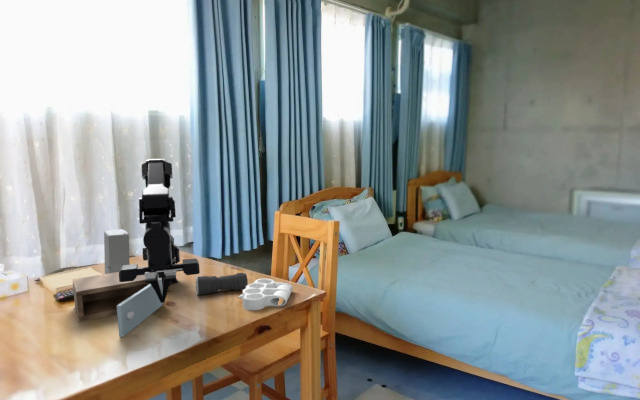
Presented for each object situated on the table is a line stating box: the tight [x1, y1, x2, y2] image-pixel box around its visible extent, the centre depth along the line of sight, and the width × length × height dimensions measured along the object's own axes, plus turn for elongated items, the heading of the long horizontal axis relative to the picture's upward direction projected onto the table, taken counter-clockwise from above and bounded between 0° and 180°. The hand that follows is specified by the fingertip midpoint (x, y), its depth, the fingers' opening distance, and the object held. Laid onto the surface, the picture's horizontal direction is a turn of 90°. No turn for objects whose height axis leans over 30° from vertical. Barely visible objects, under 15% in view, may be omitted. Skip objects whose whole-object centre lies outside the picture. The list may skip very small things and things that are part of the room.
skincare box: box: [103, 228, 130, 274], centre depth 147 cm, size 8×7×16 cm
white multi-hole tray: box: [237, 278, 294, 311], centre depth 127 cm, size 3×18×15 cm
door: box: [116, 278, 164, 338], centre depth 112 cm, size 20×2×8 cm, turn 173°
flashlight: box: [195, 272, 249, 296], centre depth 133 cm, size 15×5×5 cm, turn 109°
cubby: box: [72, 272, 150, 323], centre depth 122 cm, size 20×12×8 cm, turn 123°
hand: (162, 302), depth 111 cm, fingers closed
